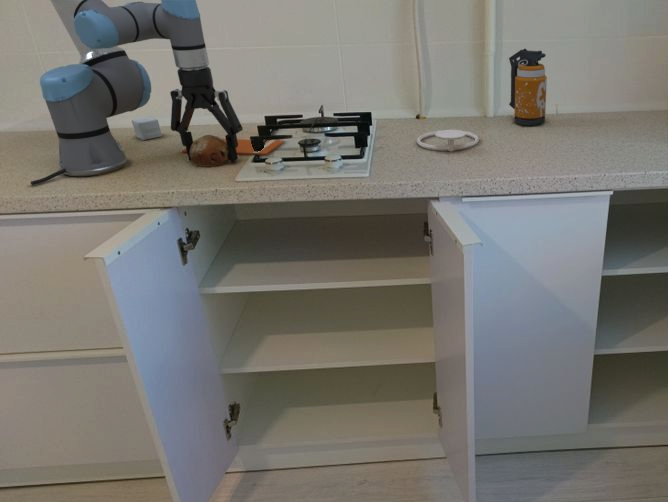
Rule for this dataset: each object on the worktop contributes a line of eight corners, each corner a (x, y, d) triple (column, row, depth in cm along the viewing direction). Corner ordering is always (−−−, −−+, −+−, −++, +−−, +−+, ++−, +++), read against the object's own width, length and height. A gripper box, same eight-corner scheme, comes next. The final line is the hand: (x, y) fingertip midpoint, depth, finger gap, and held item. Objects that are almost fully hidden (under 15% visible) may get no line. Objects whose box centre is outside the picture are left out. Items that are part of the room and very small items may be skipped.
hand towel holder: (474, 116, 187) (485, 136, 170) (474, 132, 190) (485, 153, 173) (413, 119, 186) (418, 139, 168) (414, 135, 188) (419, 157, 171)
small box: (154, 133, 196) (150, 115, 194) (162, 136, 193) (158, 119, 190) (135, 137, 193) (130, 119, 190) (143, 140, 190) (138, 123, 187)
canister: (536, 128, 192) (539, 53, 181) (502, 124, 197) (503, 50, 186) (550, 121, 198) (553, 48, 187) (516, 117, 203) (518, 45, 192)
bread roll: (221, 166, 178) (206, 137, 175) (244, 154, 172) (229, 124, 169) (193, 177, 171) (176, 147, 168) (215, 165, 165) (198, 134, 162)
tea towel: (266, 155, 175) (266, 153, 175) (182, 152, 179) (181, 150, 178) (284, 142, 185) (283, 140, 185) (203, 140, 189) (203, 138, 188)
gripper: (246, 65, 160) (262, 156, 172) (157, 63, 163) (179, 153, 176) (231, 71, 154) (249, 166, 166) (139, 69, 157) (163, 162, 169)
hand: (213, 159), depth 171 cm, fingers closed on bread roll, 11 cm apart
